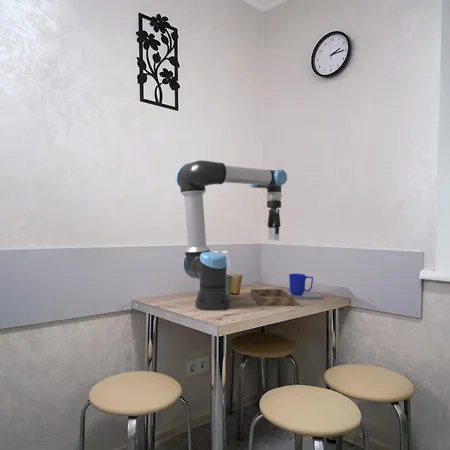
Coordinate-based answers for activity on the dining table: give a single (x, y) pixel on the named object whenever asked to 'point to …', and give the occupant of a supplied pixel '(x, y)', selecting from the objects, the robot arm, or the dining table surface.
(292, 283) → the mug
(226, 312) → the dining table surface
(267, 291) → the crate
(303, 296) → the board
